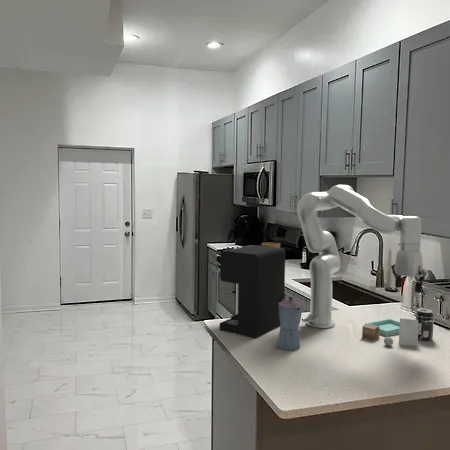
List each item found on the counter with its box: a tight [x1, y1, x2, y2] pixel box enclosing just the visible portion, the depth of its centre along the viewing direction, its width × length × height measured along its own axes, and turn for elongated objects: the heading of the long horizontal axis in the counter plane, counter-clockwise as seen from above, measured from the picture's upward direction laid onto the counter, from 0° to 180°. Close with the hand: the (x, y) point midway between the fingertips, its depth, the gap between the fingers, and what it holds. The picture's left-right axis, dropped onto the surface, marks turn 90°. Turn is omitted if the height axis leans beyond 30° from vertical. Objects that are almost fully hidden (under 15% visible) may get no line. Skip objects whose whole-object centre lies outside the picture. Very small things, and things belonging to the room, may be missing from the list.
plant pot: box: [261, 242, 281, 248], centre depth 369 cm, size 15×15×16 cm
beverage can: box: [415, 308, 435, 341], centre depth 190 cm, size 7×7×12 cm
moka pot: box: [277, 296, 304, 352], centre depth 178 cm, size 10×15×20 cm, turn 27°
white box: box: [398, 317, 419, 347], centre depth 184 cm, size 4×7×10 cm, turn 71°
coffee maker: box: [219, 244, 287, 340], centre depth 203 cm, size 28×20×35 cm
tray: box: [364, 318, 400, 338], centre depth 201 cm, size 16×12×2 cm
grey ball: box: [383, 336, 394, 347], centre depth 181 cm, size 4×4×4 cm
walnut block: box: [361, 324, 380, 342], centre depth 190 cm, size 5×5×5 cm
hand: (408, 289), depth 184 cm, fingers open, 9 cm apart
